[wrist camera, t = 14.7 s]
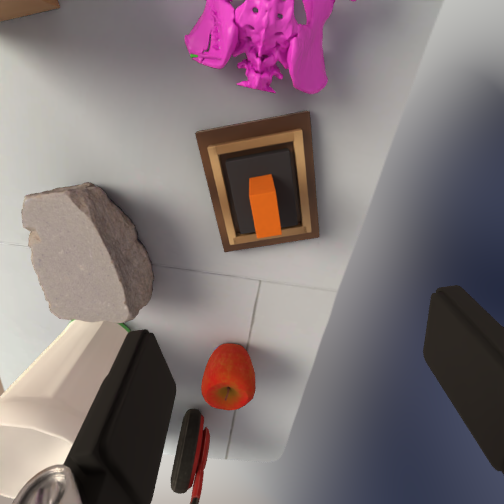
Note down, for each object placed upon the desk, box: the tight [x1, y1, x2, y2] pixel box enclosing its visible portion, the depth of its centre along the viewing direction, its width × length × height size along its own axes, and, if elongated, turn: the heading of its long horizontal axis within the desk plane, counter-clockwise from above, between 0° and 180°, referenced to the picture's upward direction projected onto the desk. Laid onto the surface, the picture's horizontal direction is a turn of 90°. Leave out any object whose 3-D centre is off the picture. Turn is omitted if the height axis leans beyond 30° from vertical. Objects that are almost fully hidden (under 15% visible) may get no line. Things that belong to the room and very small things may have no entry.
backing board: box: [195, 111, 319, 252], centre depth 29 cm, size 12×10×2 cm
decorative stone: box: [21, 182, 154, 323], centre depth 30 cm, size 15×7×10 cm
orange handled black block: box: [226, 148, 298, 238], centre depth 26 cm, size 7×6×6 cm
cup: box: [0, 319, 130, 499], centre depth 33 cm, size 12×12×15 cm
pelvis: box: [185, 0, 356, 94], centre depth 21 cm, size 12×10×7 cm
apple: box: [201, 343, 255, 410], centre depth 37 cm, size 6×6×8 cm
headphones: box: [171, 409, 210, 504], centre depth 38 cm, size 18×10×20 cm, turn 76°
